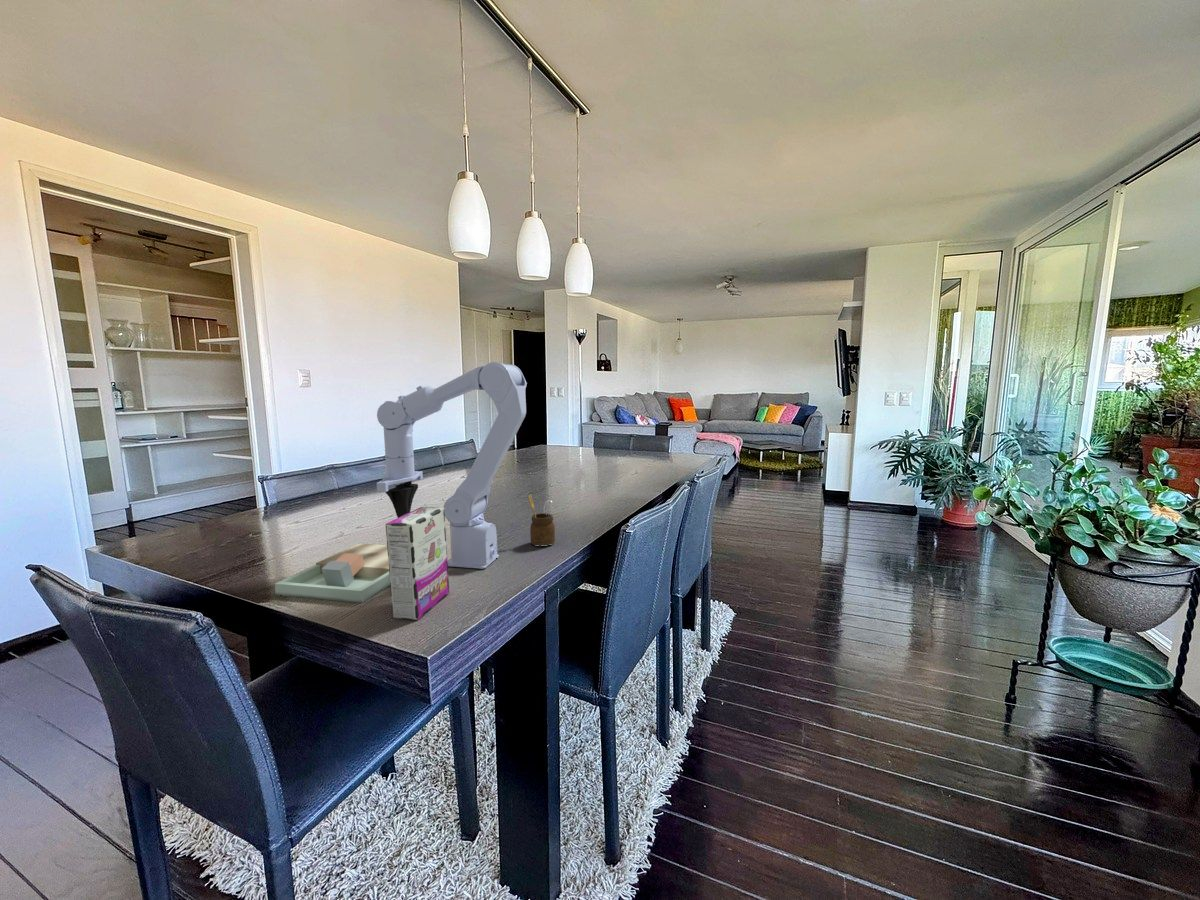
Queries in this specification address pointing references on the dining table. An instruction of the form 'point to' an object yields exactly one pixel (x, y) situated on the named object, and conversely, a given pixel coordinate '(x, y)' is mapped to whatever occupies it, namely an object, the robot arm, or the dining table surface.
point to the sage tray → (315, 586)
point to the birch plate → (365, 559)
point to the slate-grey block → (337, 574)
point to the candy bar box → (417, 562)
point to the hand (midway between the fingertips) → (403, 517)
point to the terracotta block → (352, 561)
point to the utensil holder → (542, 527)
